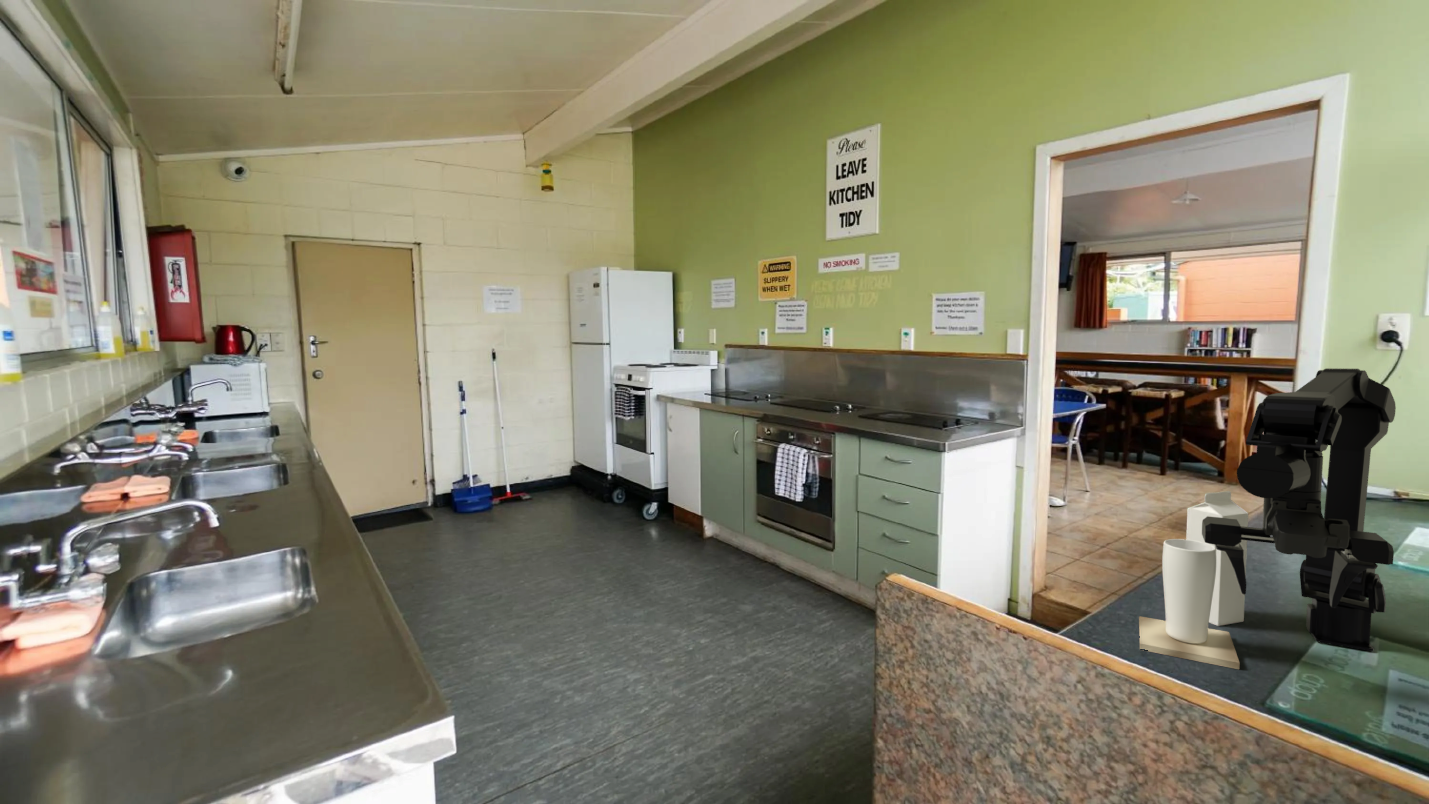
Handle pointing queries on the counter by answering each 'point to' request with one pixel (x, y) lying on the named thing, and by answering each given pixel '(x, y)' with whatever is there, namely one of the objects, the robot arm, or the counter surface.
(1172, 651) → the birch board
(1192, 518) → the milk
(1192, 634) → the drinking glass
